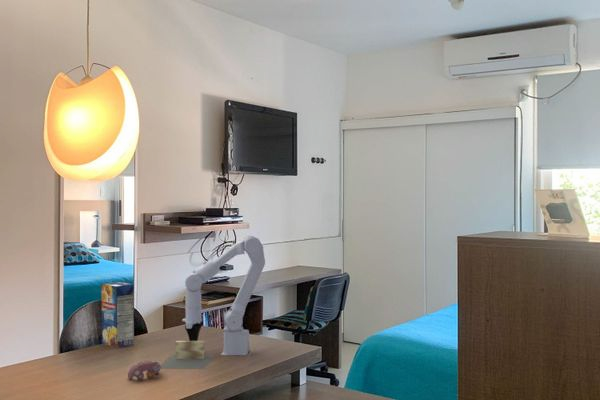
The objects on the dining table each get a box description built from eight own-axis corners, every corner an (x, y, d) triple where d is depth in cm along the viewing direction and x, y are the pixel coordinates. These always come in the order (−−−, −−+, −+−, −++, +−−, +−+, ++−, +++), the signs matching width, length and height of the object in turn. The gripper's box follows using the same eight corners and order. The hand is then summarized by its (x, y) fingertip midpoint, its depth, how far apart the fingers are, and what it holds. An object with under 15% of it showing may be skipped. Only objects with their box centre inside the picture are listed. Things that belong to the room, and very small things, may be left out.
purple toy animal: (129, 386, 181) (132, 368, 178) (126, 376, 184) (128, 359, 181) (160, 380, 186) (163, 363, 183) (156, 371, 189) (159, 354, 187)
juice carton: (101, 343, 231) (101, 283, 231) (118, 340, 237) (118, 281, 237) (116, 348, 223) (116, 286, 223) (134, 344, 228) (133, 284, 229)
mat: (215, 356, 209) (215, 354, 209) (204, 370, 191) (204, 368, 191) (171, 356, 210) (171, 354, 210) (156, 370, 192) (156, 368, 192)
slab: (204, 357, 206) (204, 340, 206) (203, 358, 204) (203, 341, 204) (176, 357, 206) (176, 340, 206) (175, 358, 204) (175, 341, 204)
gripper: (187, 303, 218) (187, 339, 218) (177, 310, 204) (177, 349, 203) (206, 303, 218) (206, 339, 217) (197, 310, 203) (197, 349, 203)
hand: (193, 344), depth 210 cm, fingers closed
